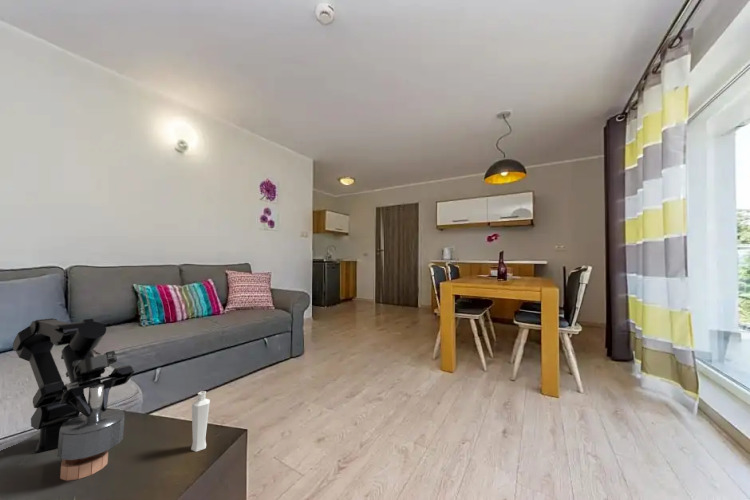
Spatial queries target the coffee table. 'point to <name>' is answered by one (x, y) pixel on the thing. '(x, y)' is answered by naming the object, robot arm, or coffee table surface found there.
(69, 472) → the terracotta bowl
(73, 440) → the grey stemmed oval block
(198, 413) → the perfume bottle
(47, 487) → the coffee table surface
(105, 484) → the coffee table surface
